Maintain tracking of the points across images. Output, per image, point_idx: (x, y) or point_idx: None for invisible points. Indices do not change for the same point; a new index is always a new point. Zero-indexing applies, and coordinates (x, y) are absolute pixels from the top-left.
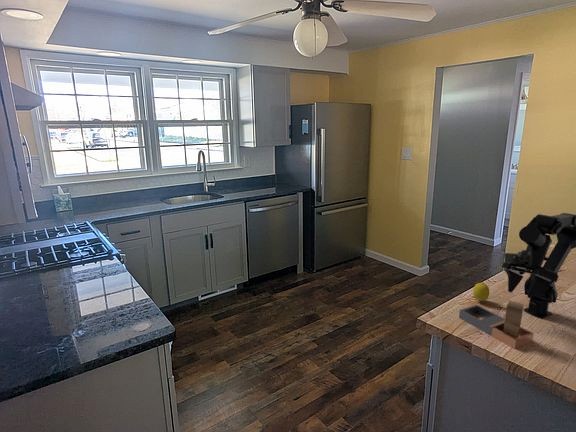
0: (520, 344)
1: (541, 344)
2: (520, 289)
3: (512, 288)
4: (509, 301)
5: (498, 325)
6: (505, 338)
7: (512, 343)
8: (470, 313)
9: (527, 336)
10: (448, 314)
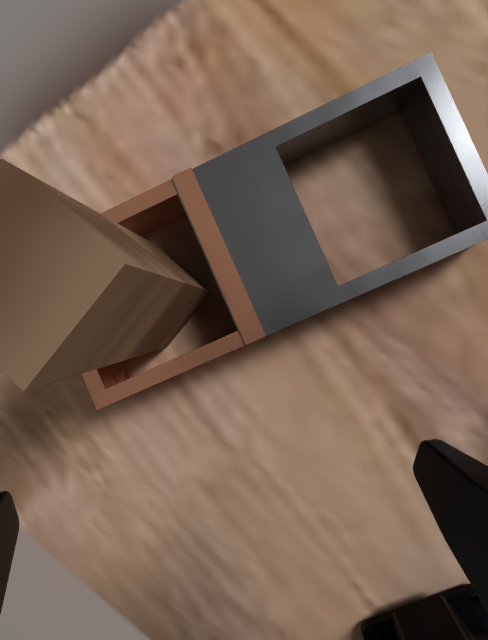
0: None
1: (96, 429)
2: None
3: (453, 516)
4: (92, 246)
5: (197, 235)
6: None
7: None
8: (437, 175)
9: None
10: (454, 35)
